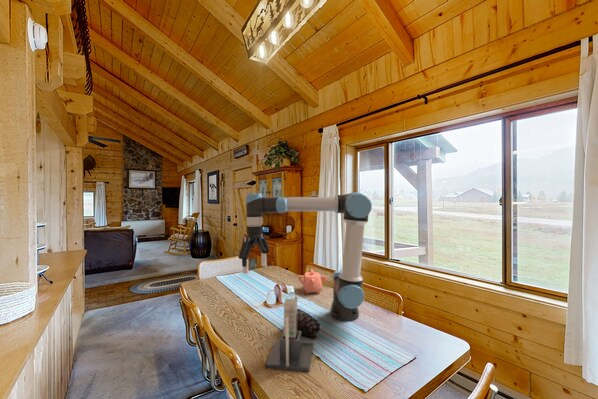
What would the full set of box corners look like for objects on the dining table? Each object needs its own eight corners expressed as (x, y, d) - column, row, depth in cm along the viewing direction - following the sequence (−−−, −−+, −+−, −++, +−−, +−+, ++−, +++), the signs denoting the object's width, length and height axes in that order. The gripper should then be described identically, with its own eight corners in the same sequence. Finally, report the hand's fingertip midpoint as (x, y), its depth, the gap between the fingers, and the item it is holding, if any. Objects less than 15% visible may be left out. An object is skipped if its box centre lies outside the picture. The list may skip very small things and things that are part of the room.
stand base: (313, 347, 112) (312, 301, 112) (309, 371, 96) (309, 318, 96) (275, 344, 114) (275, 299, 114) (265, 368, 98) (265, 316, 98)
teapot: (313, 297, 167) (313, 276, 167) (295, 291, 178) (295, 271, 178) (329, 290, 179) (329, 271, 179) (311, 285, 190) (311, 267, 190)
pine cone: (316, 343, 115) (316, 319, 115) (282, 332, 124) (282, 310, 124) (326, 332, 124) (326, 310, 124) (294, 323, 133) (294, 303, 133)
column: (297, 349, 107) (297, 299, 107) (295, 357, 102) (295, 304, 101) (286, 348, 107) (286, 298, 107) (283, 356, 102) (283, 304, 102)
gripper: (264, 223, 141) (264, 263, 141) (229, 228, 119) (230, 275, 120) (275, 223, 137) (276, 264, 138) (242, 228, 116) (243, 277, 116)
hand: (255, 269), depth 129 cm, fingers open, 13 cm apart
